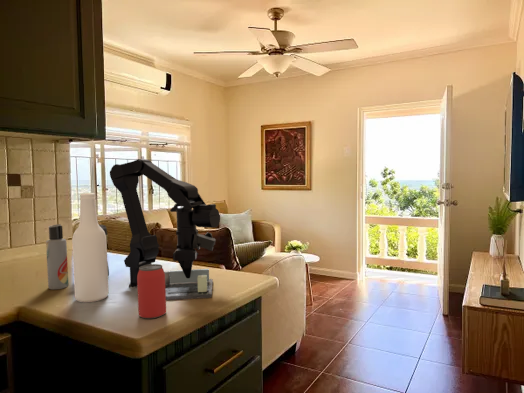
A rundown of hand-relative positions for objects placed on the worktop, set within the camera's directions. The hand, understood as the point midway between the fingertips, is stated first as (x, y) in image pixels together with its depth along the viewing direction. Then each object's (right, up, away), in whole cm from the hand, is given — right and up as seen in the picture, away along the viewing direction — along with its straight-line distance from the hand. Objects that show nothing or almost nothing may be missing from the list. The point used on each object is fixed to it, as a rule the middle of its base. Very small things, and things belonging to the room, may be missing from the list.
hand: (188, 278), depth 114 cm
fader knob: (+5, -2, -6) cm, 8 cm away
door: (-1, -2, +4) cm, 4 cm away
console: (0, -4, -1) cm, 4 cm away
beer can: (-5, -5, -21) cm, 22 cm away
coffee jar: (-36, -4, +16) cm, 39 cm away
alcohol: (-26, -5, -6) cm, 27 cm away
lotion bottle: (-43, -5, +6) cm, 43 cm away
